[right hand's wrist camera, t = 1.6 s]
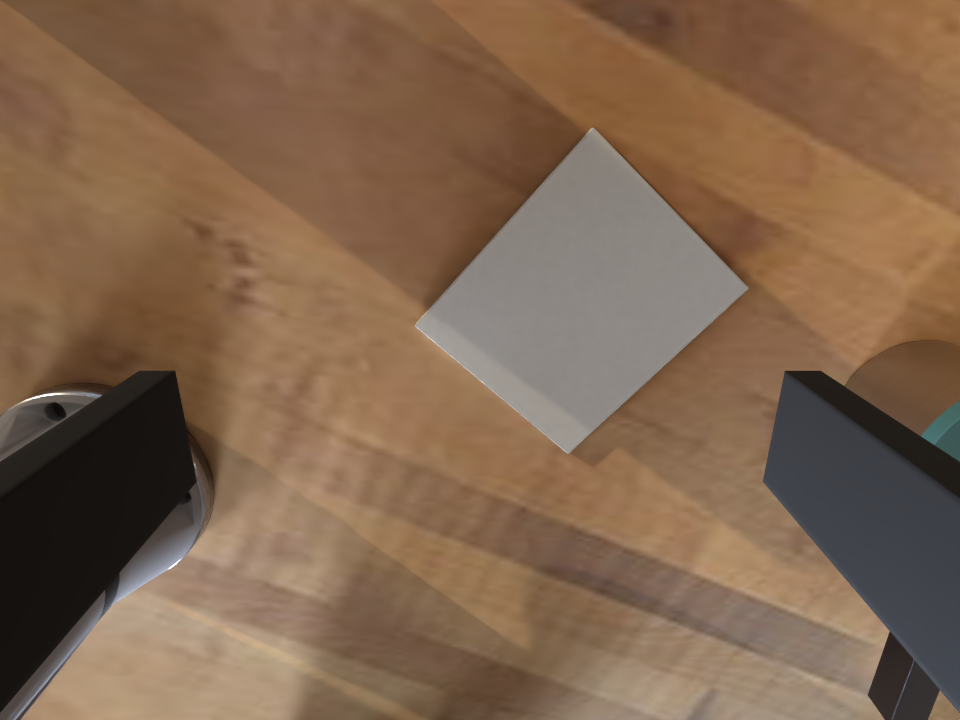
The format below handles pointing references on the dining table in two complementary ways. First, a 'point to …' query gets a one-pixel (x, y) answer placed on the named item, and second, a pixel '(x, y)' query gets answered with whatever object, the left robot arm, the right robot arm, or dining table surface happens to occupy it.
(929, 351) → the saucepan
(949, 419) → the lid
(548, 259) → the grey mat
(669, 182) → the dining table surface
